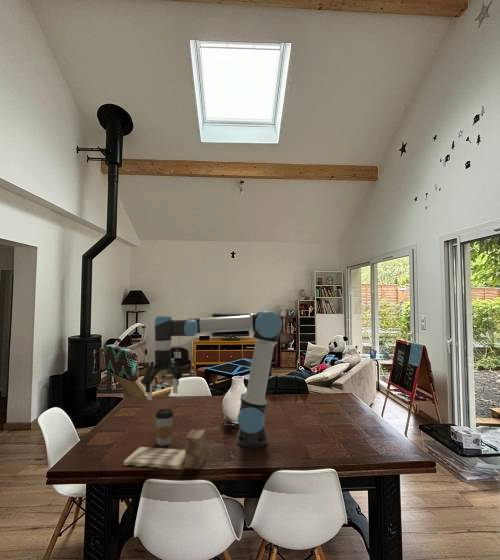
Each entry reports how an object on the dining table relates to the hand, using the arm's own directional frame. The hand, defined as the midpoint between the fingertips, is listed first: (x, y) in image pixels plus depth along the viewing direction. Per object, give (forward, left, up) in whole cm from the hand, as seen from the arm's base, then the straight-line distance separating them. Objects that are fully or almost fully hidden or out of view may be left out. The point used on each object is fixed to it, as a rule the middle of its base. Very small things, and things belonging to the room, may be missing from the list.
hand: (162, 396), depth 149 cm
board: (-1, +7, -25) cm, 26 cm away
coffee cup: (+3, -9, -25) cm, 27 cm away
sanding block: (-18, +8, -25) cm, 32 cm away
